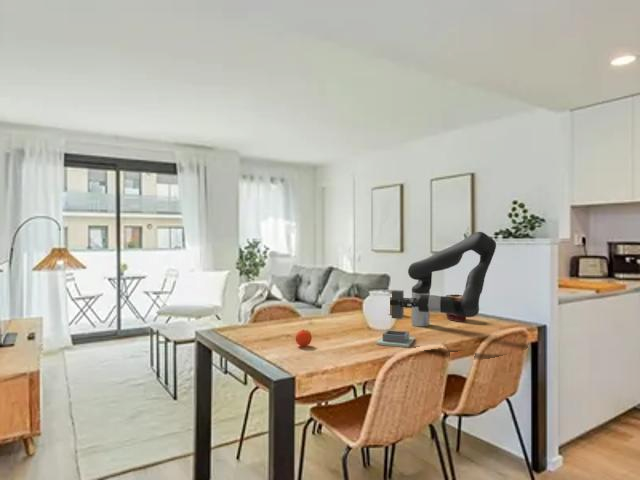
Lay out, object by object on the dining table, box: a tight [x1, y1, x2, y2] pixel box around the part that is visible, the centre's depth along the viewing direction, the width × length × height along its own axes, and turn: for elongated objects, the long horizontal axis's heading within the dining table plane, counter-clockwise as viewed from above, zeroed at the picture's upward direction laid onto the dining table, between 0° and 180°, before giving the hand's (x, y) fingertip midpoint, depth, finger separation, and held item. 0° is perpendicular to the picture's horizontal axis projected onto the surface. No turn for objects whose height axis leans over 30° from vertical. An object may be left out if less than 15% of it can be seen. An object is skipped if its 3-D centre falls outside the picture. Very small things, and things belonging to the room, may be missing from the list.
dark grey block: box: [389, 289, 405, 320], centre depth 204 cm, size 4×6×12 cm
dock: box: [375, 329, 416, 348], centre depth 204 cm, size 16×14×4 cm
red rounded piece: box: [295, 329, 312, 347], centre depth 196 cm, size 8×7×7 cm
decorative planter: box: [445, 294, 467, 322], centre depth 257 cm, size 20×12×14 cm, turn 32°
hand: (391, 301), depth 205 cm, fingers closed on dark grey block, 4 cm apart
